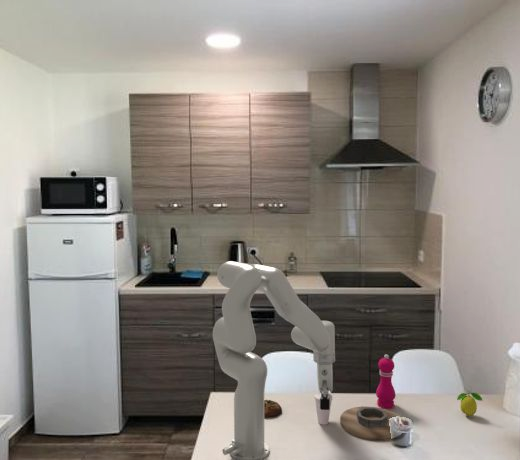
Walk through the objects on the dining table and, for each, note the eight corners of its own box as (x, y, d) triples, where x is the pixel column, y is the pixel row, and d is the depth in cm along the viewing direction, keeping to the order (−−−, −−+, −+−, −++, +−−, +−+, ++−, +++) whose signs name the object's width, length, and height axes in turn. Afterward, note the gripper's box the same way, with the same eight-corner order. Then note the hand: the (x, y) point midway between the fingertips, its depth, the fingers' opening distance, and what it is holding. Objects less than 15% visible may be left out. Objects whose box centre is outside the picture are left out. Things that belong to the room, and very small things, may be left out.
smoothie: (331, 418, 176) (332, 380, 174) (332, 427, 169) (333, 388, 168) (314, 417, 176) (314, 380, 175) (314, 426, 170) (314, 387, 169)
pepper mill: (375, 408, 184) (376, 356, 182) (376, 400, 191) (377, 350, 189) (395, 410, 182) (396, 358, 180) (395, 402, 189) (396, 352, 187)
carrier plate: (381, 447, 155) (382, 435, 155) (327, 424, 171) (327, 413, 171) (416, 424, 171) (416, 413, 170) (363, 405, 186) (363, 395, 186)
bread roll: (280, 419, 175) (278, 405, 175) (250, 421, 177) (248, 407, 177) (284, 406, 186) (282, 394, 186) (256, 408, 188) (254, 396, 188)
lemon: (482, 418, 175) (483, 391, 174) (469, 421, 173) (470, 394, 172) (467, 410, 181) (468, 384, 181) (455, 413, 179) (456, 387, 178)
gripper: (336, 365, 162) (336, 414, 163) (333, 348, 179) (334, 392, 181) (313, 365, 163) (314, 414, 164) (313, 348, 180) (313, 392, 181)
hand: (324, 403), depth 172 cm, fingers open, 9 cm apart
